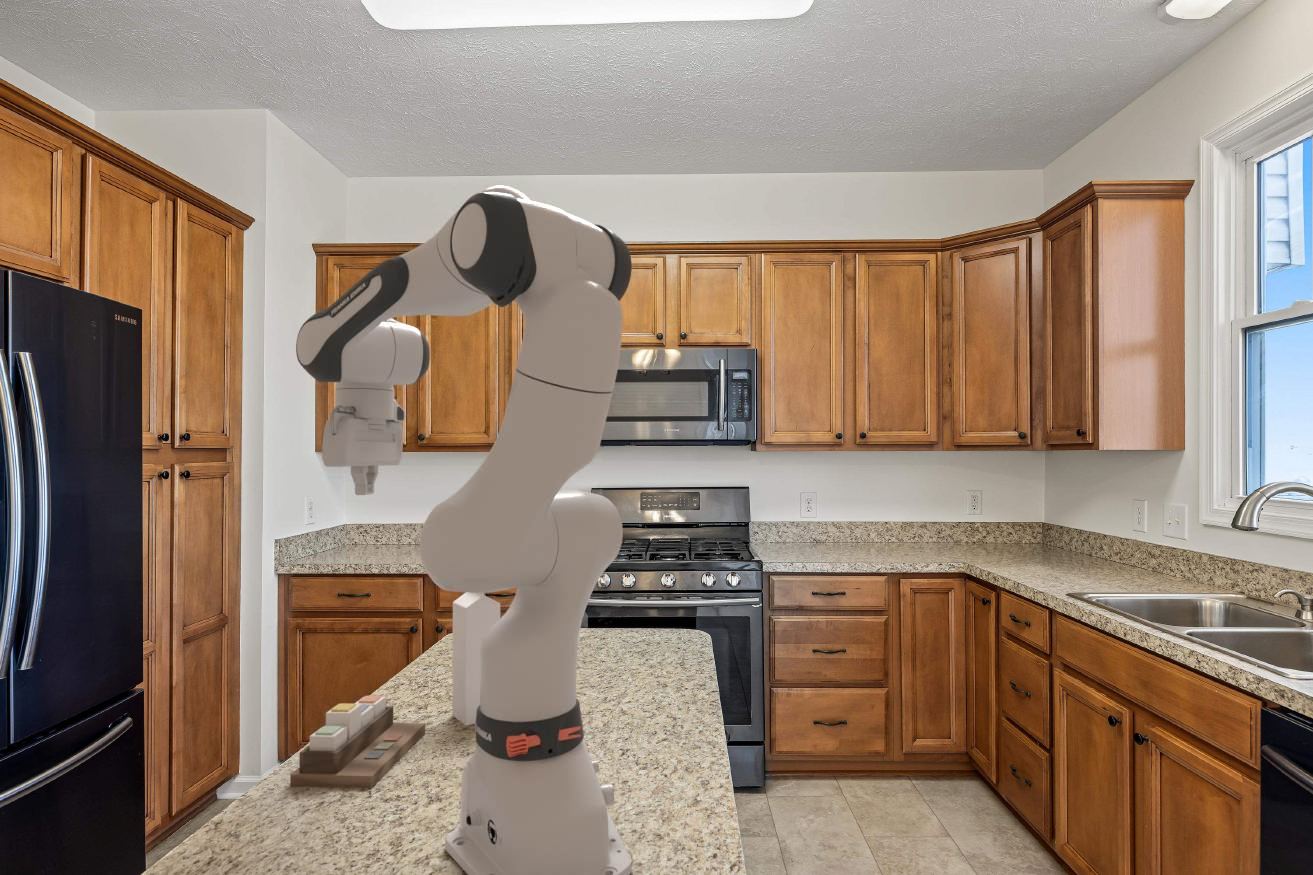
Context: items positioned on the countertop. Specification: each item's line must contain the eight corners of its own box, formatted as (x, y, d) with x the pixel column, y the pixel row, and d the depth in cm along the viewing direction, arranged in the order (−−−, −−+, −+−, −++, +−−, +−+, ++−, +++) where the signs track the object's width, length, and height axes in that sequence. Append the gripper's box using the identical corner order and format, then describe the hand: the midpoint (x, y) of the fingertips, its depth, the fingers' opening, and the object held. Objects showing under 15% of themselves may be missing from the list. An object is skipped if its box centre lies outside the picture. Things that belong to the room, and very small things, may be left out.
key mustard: (349, 740, 96) (349, 710, 96) (325, 740, 96) (325, 710, 97) (361, 731, 100) (361, 702, 100) (338, 730, 100) (338, 701, 100)
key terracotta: (375, 729, 104) (375, 702, 104) (353, 729, 104) (353, 701, 105) (385, 721, 108) (385, 694, 108) (364, 720, 108) (364, 694, 108)
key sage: (334, 765, 92) (334, 734, 92) (309, 764, 92) (309, 733, 93) (346, 754, 96) (347, 724, 96) (322, 754, 96) (323, 724, 96)
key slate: (362, 741, 100) (362, 712, 100) (339, 740, 100) (339, 711, 100) (373, 731, 104) (373, 703, 104) (351, 731, 104) (351, 703, 104)
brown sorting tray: (372, 787, 91) (372, 754, 91) (290, 785, 91) (290, 753, 91) (425, 732, 109) (425, 705, 109) (356, 731, 109) (356, 704, 109)
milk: (465, 726, 111) (465, 588, 112) (451, 715, 116) (451, 582, 116) (501, 717, 115) (500, 583, 115) (486, 707, 120) (485, 578, 120)
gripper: (352, 404, 102) (351, 498, 101) (409, 412, 122) (409, 491, 122) (310, 404, 102) (309, 498, 102) (374, 413, 123) (374, 491, 122)
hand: (364, 494), depth 112 cm, fingers closed
